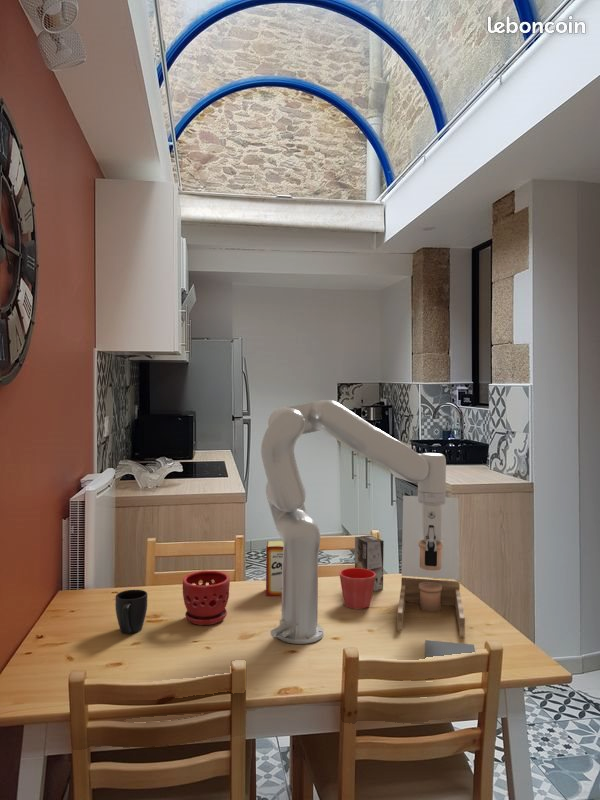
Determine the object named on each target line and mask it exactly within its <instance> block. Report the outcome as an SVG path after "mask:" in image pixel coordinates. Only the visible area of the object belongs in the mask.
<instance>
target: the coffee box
mask: <svg viewBox="0 0 600 800" xmlns="http://www.w3.org/2000/svg"><path fill="white" fill-rule="evenodd" d="M384 542H385V541H384V540H383V539H380V538H377V537H375V536H373V535H370V534H369V535H362V536H354V568H362V569H368V570H371V571H373V572H374V573H375V574H376V577H375V583H374V588H373V590H376V591H379V590H378V589H383V590H384V544H385V543H384Z"/></svg>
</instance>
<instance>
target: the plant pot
mask: <svg viewBox="0 0 600 800" xmlns="http://www.w3.org/2000/svg"><path fill="white" fill-rule="evenodd" d="M200 581H202V583H201V584H200V583H199V582H200ZM212 581H213V582H212ZM230 582H231V580H230V576H229V575H228V574H227V573H225V572H222V571H217V570H202V571H195V572H191V573H190V574H187V575H186V576H184V577H183V578H182V597H183V603H184V606H185V608H186V611H185V612H184V613H185V617H186V619H187V621H189V622H190V623H192V624H195V625H199V626H205V625H206V626H207V625H214V624H218V623H220V622H221V621H223V620H224V619H225V618H226V617H227V614H228V611H227V609H226V607H227V606H228V601H229V598H230V585H231V584H230ZM207 584H208V585H207Z"/></svg>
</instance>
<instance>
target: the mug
mask: <svg viewBox="0 0 600 800" xmlns="http://www.w3.org/2000/svg"><path fill="white" fill-rule="evenodd" d="M114 603H115V614H116V615H115V616H116V619H117V624H118V626H119V630H120V631H119V632H121V634H126V635H132V634H137V633H139V632H141V631H142V630H143V626H144V623H145V621H146V620H145V619H146V615H147V611H148V610H147V609H148V592H147V591H146V590H143V589H127V590H123V591H120V592H118V593H117V594H116V595H115V602H114Z"/></svg>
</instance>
